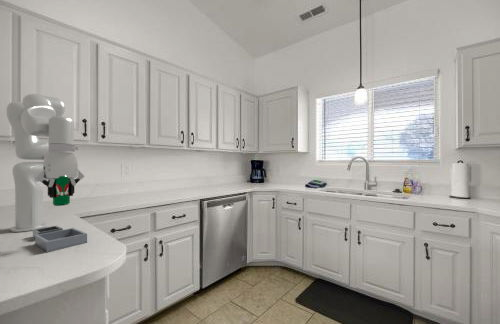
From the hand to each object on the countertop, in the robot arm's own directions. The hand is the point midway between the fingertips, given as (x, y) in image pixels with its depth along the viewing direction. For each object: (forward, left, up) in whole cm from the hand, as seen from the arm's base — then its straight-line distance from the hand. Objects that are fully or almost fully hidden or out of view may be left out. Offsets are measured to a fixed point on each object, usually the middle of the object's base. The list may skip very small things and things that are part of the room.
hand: (61, 196), depth 88 cm
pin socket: (-16, 0, -18) cm, 24 cm away
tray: (0, 0, -18) cm, 18 cm away
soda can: (0, 0, -4) cm, 4 cm away
